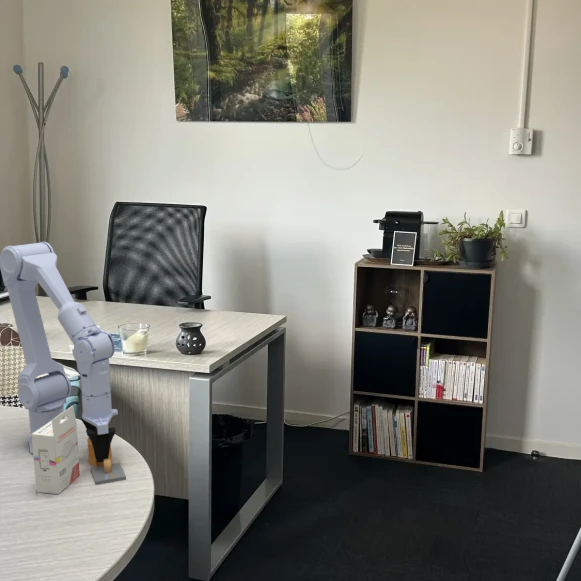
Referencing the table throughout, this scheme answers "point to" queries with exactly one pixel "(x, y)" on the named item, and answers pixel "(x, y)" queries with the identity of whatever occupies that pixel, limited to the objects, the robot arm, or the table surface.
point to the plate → (107, 472)
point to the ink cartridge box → (56, 453)
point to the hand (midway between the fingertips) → (99, 455)
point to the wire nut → (92, 456)
